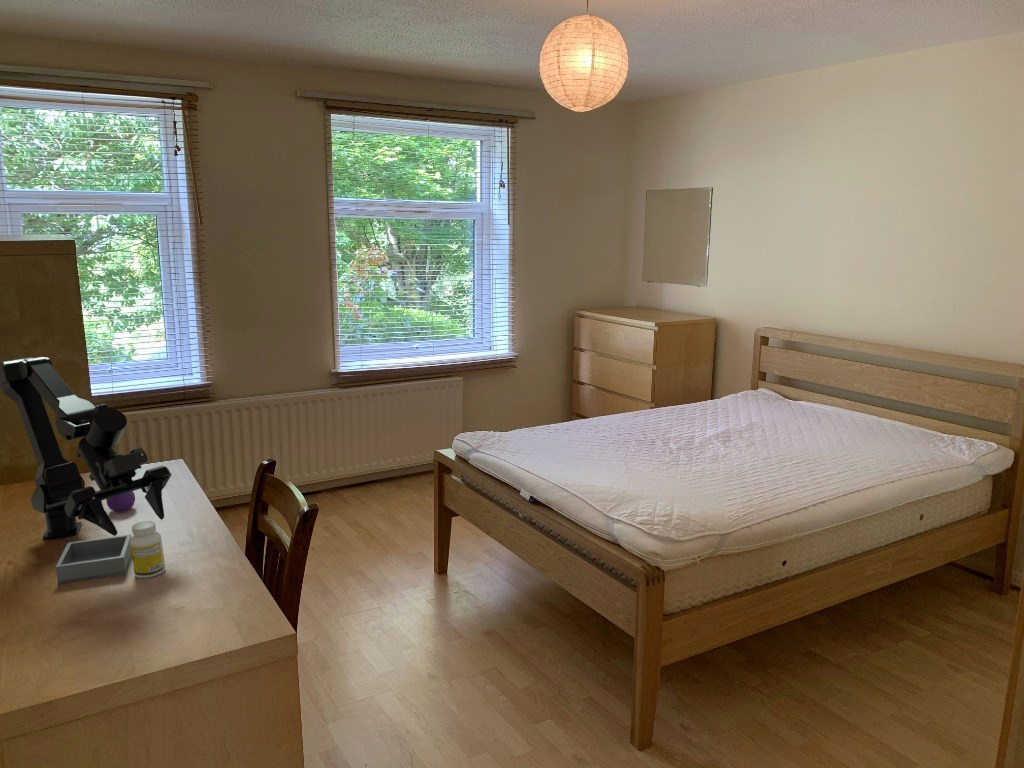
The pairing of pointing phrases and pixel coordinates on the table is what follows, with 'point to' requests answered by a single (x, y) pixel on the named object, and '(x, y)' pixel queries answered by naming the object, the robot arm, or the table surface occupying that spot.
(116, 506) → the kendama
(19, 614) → the table surface
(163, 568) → the supplement bottle
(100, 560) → the tray
